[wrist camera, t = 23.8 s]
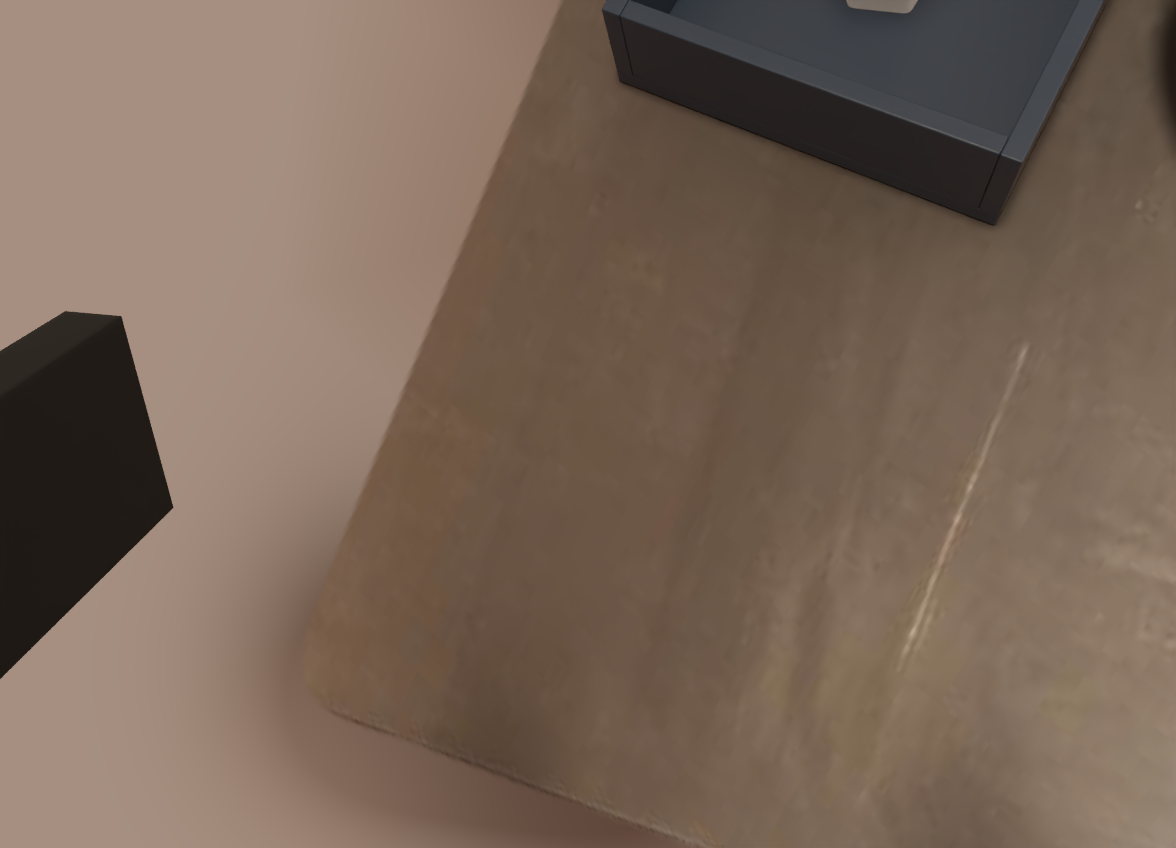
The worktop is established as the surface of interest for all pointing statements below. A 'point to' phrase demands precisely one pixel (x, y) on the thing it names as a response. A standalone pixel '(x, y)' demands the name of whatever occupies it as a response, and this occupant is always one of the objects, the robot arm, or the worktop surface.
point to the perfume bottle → (883, 5)
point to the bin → (869, 81)
